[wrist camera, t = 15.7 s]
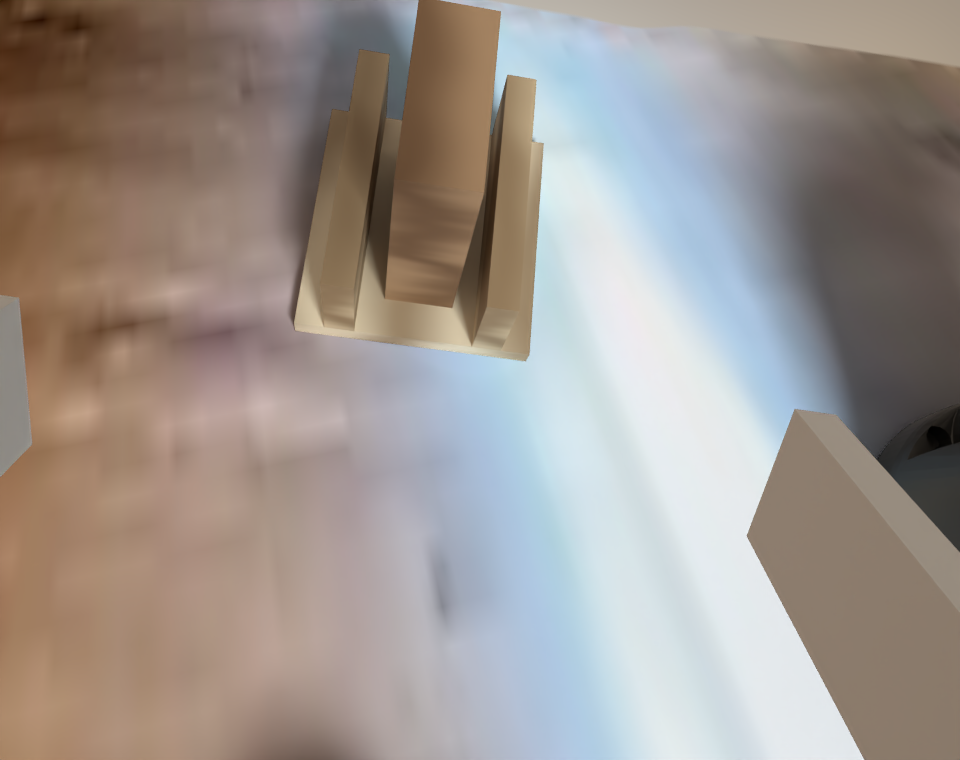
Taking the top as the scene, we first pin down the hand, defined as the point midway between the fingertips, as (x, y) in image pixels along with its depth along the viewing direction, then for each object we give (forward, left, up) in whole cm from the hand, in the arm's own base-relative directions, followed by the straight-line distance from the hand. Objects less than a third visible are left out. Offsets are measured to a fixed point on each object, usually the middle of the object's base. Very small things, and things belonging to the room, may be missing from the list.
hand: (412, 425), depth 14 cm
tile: (0, -18, -24) cm, 30 cm away
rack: (0, -18, -25) cm, 31 cm away
